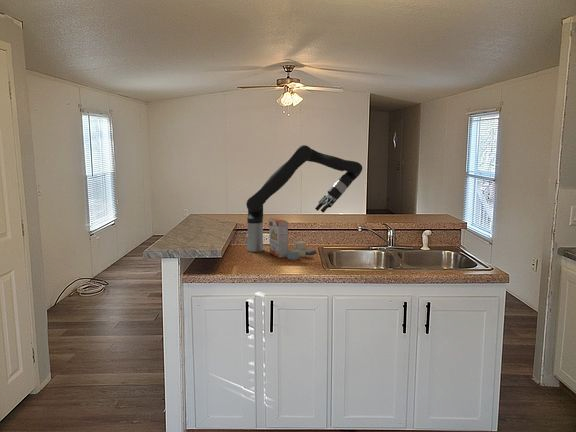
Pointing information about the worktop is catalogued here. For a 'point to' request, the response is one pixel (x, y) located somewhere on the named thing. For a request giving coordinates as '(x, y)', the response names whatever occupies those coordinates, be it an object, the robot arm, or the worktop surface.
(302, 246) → the birch block
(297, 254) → the slate cube
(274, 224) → the cracker box
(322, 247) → the worktop surface
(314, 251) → the charcoal pad
